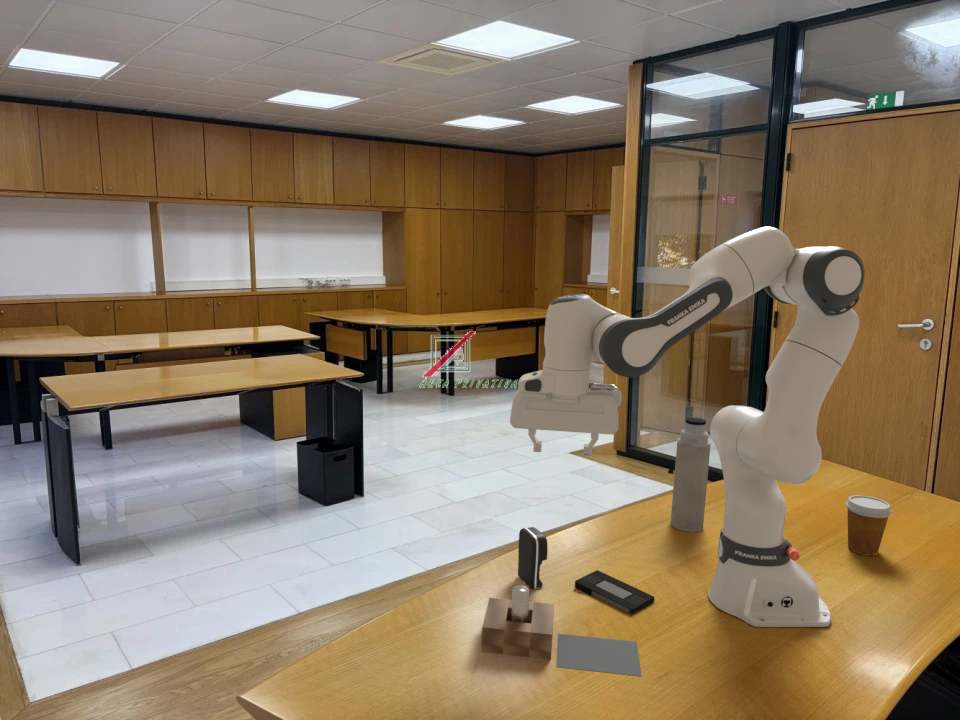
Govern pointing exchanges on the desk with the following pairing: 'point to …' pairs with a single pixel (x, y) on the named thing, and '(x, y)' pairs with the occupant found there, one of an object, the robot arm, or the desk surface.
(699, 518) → the thermos bottle
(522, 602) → the peg
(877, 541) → the disposable coffee cup
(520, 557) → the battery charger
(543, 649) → the hole block
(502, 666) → the desk surface
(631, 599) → the vhs tape
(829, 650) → the desk surface
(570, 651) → the mat
